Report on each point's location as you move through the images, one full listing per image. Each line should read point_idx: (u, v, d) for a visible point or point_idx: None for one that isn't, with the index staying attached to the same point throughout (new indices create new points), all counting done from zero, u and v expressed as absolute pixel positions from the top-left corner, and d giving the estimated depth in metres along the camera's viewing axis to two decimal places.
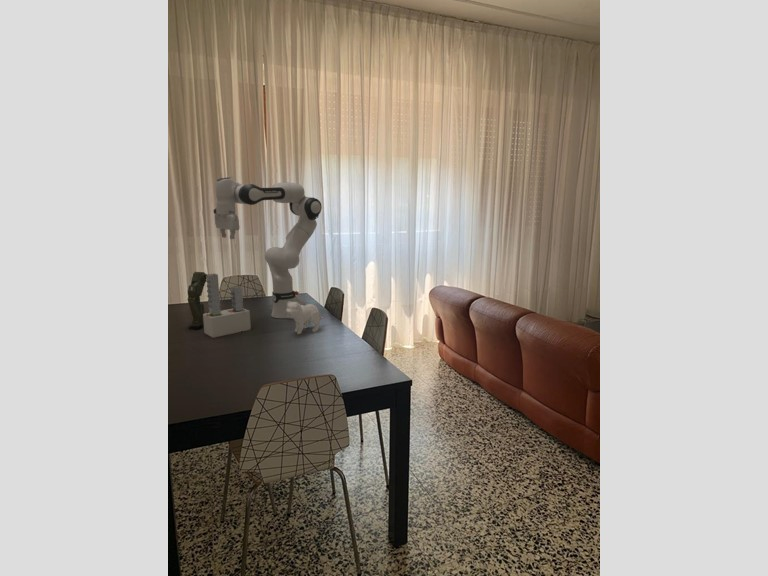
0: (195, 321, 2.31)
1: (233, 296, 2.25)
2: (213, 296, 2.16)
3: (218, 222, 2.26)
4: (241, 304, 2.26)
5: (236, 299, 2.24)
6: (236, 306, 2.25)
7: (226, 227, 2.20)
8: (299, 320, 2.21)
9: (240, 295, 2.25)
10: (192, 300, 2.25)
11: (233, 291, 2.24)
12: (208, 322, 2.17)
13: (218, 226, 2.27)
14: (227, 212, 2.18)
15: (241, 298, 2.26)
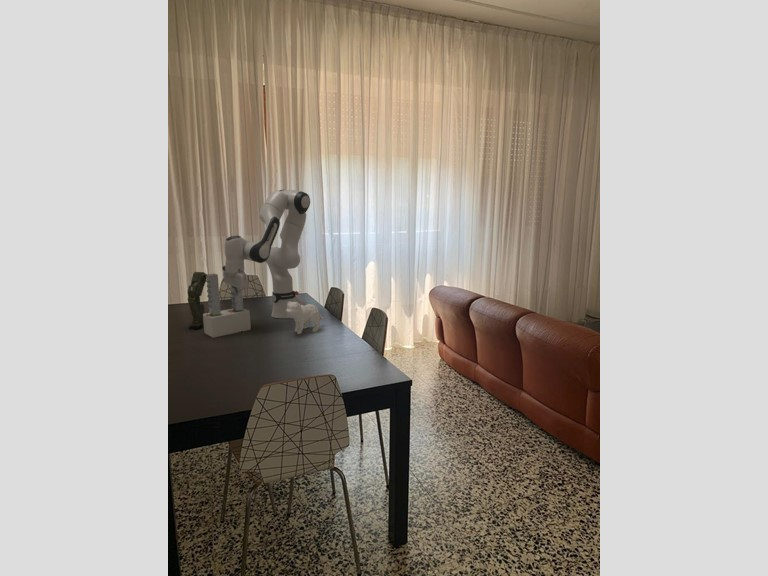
0: (195, 321, 2.31)
1: (233, 296, 2.25)
2: (213, 296, 2.16)
3: (227, 278, 2.27)
4: (241, 304, 2.26)
5: (236, 299, 2.24)
6: (236, 306, 2.25)
7: (235, 285, 2.22)
8: (299, 320, 2.21)
9: None
10: (192, 300, 2.25)
11: (233, 291, 2.24)
12: (208, 322, 2.17)
13: (227, 282, 2.28)
14: (236, 271, 2.19)
15: (241, 298, 2.26)
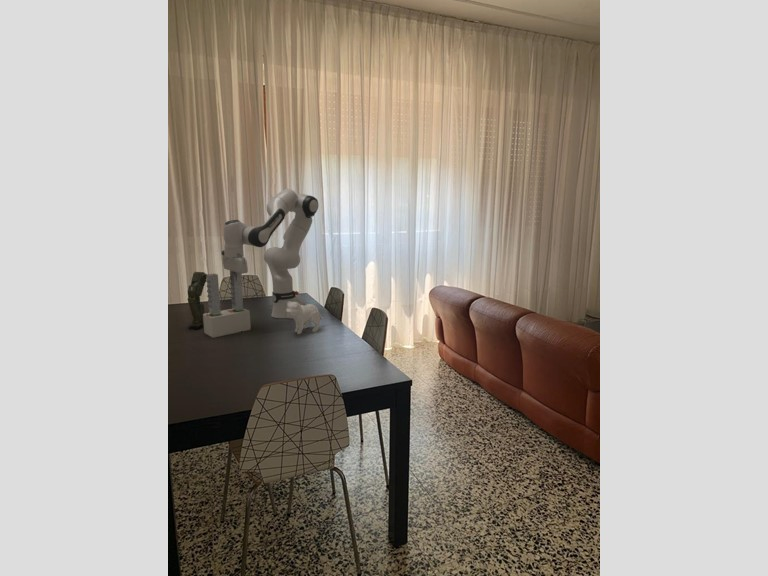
0: (195, 321, 2.31)
1: (232, 281, 2.23)
2: (213, 296, 2.16)
3: (226, 263, 2.25)
4: (240, 290, 2.25)
5: (235, 284, 2.22)
6: (235, 291, 2.23)
7: (234, 270, 2.20)
8: (299, 320, 2.21)
9: None
10: (192, 300, 2.25)
11: (232, 276, 2.22)
12: (208, 322, 2.17)
13: (226, 267, 2.27)
14: (235, 255, 2.18)
15: (240, 283, 2.24)
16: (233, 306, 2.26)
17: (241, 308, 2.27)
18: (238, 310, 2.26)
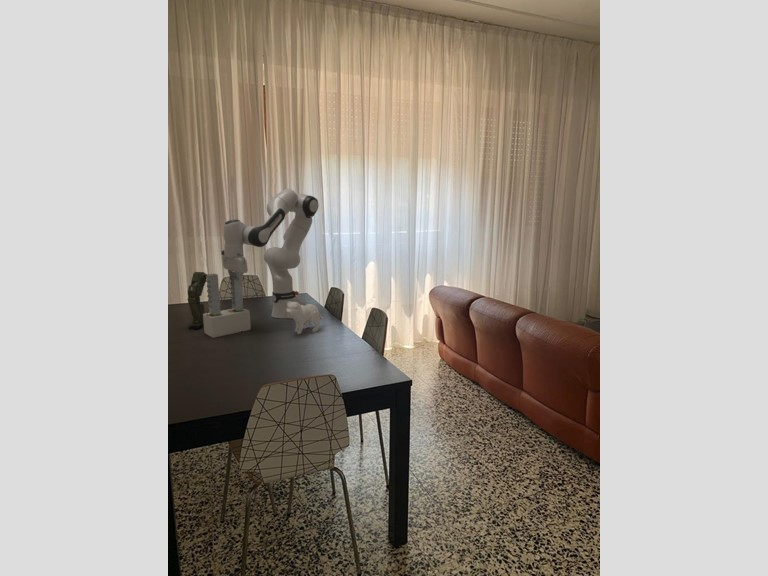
0: (195, 321, 2.31)
1: (232, 281, 2.23)
2: (213, 296, 2.16)
3: (226, 263, 2.25)
4: (240, 289, 2.25)
5: (235, 284, 2.22)
6: (235, 291, 2.23)
7: (234, 269, 2.20)
8: (299, 320, 2.21)
9: None
10: (192, 300, 2.25)
11: (232, 276, 2.22)
12: (208, 322, 2.17)
13: (226, 267, 2.26)
14: (235, 255, 2.18)
15: (240, 283, 2.24)
16: (233, 306, 2.26)
17: (241, 308, 2.27)
18: (238, 310, 2.26)
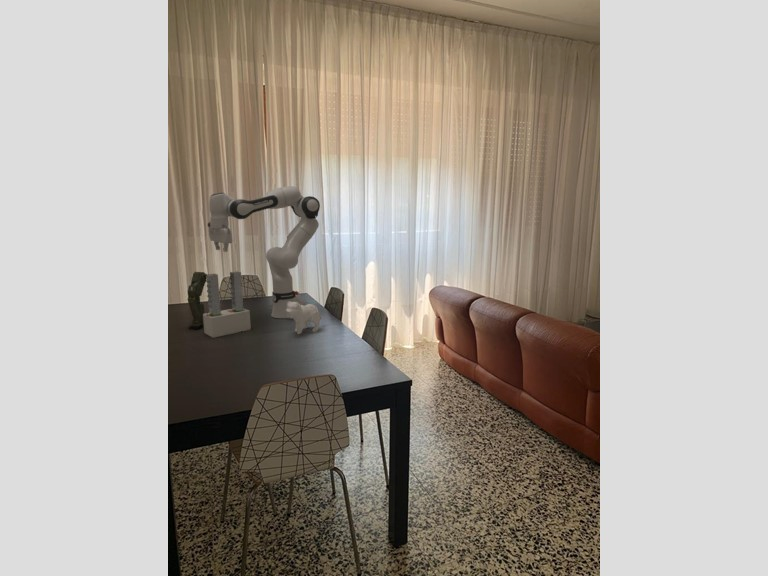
0: (195, 321, 2.31)
1: (232, 281, 2.23)
2: (213, 296, 2.16)
3: (212, 235, 2.35)
4: (240, 289, 2.25)
5: (235, 284, 2.22)
6: (235, 291, 2.23)
7: (219, 240, 2.30)
8: (299, 320, 2.21)
9: (239, 280, 2.23)
10: (192, 300, 2.25)
11: (232, 276, 2.22)
12: (208, 322, 2.17)
13: (212, 239, 2.36)
14: (220, 226, 2.28)
15: (240, 283, 2.24)
16: (233, 306, 2.26)
17: (241, 308, 2.27)
18: (238, 310, 2.26)
